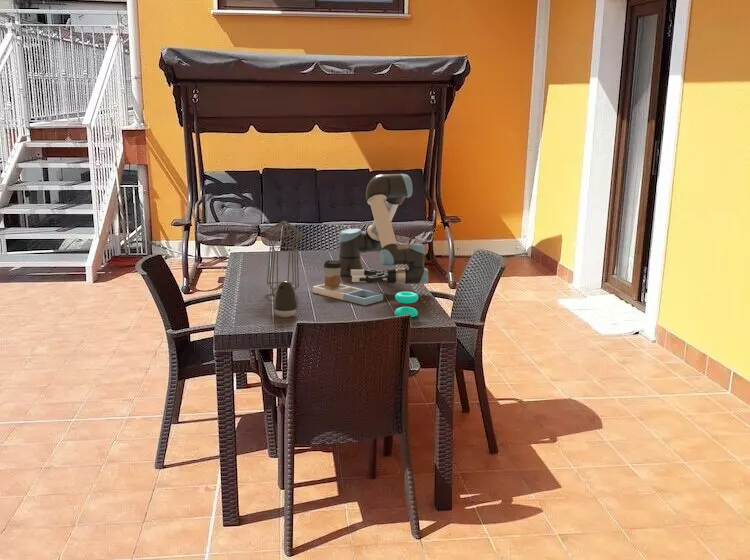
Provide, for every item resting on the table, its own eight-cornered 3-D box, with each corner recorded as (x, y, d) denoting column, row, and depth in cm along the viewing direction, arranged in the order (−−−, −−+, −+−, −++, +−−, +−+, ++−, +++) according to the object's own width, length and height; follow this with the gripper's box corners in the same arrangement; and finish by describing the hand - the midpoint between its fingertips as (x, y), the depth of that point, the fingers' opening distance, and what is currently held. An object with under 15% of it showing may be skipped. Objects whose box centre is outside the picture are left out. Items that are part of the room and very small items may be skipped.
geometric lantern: (262, 292, 365) (263, 219, 358) (294, 290, 371) (295, 218, 364) (271, 299, 351) (272, 223, 344) (304, 297, 357) (306, 223, 350)
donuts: (412, 290, 334) (422, 295, 325) (411, 312, 337) (421, 318, 328) (391, 291, 330) (401, 297, 321) (390, 314, 333) (400, 320, 324)
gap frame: (331, 288, 377) (331, 282, 376) (383, 300, 356) (383, 294, 355) (312, 292, 367) (312, 286, 366) (364, 305, 346) (364, 298, 345)
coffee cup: (327, 295, 362) (328, 264, 359) (320, 291, 369) (320, 260, 366) (343, 293, 366) (344, 263, 363) (336, 290, 373) (336, 259, 370)
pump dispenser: (268, 317, 323) (268, 282, 319) (280, 311, 332) (280, 277, 329) (290, 320, 319) (290, 284, 316) (301, 314, 329) (301, 279, 325)
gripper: (398, 289, 357) (352, 289, 355) (392, 277, 381) (350, 277, 379) (398, 274, 355) (352, 273, 353) (393, 263, 379) (350, 262, 378)
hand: (351, 275), depth 366 cm, fingers open, 13 cm apart
